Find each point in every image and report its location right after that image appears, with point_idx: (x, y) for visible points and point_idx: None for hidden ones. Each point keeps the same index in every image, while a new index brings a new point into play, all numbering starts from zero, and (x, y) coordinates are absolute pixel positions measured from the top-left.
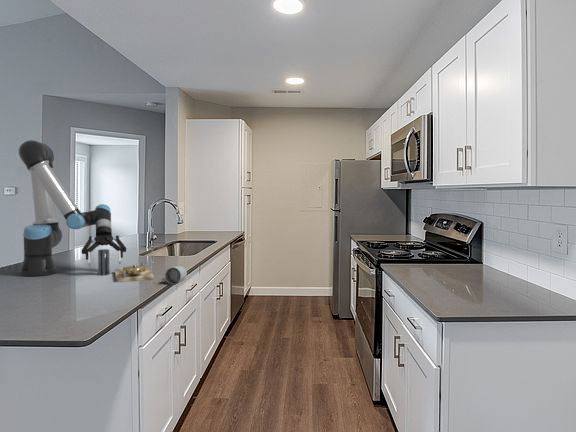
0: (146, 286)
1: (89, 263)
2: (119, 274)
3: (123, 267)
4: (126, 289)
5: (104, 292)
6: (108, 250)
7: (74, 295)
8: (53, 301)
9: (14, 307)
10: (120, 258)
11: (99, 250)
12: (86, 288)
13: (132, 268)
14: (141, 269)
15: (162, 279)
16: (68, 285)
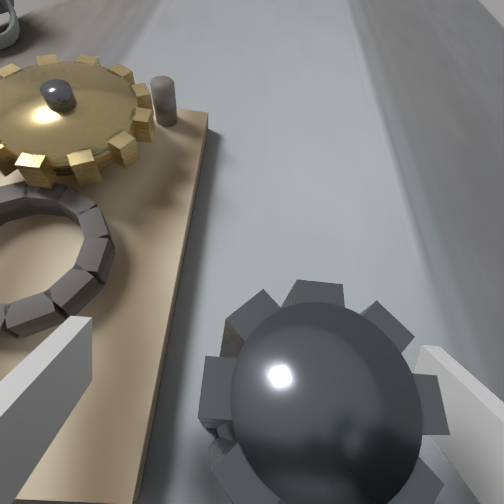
0: (114, 25)
1: (425, 360)
2: (163, 211)
3: (134, 138)
4: (198, 23)
5: (274, 24)
6: (220, 357)
7: (361, 33)
8: (402, 12)
9: (472, 10)
10: (51, 338)
11: (404, 342)
12: (337, 85)
13: (91, 85)
14: (46, 60)
15: (15, 14)
16: (422, 157)
